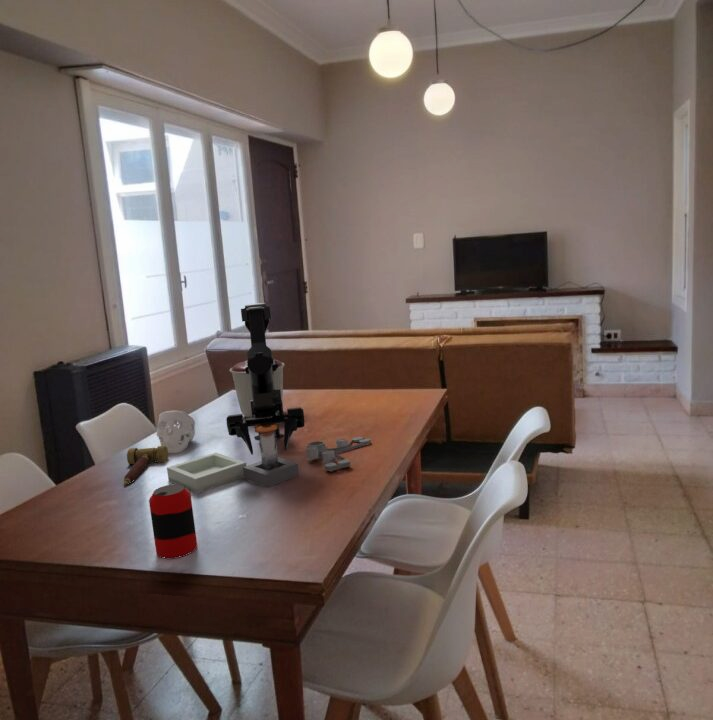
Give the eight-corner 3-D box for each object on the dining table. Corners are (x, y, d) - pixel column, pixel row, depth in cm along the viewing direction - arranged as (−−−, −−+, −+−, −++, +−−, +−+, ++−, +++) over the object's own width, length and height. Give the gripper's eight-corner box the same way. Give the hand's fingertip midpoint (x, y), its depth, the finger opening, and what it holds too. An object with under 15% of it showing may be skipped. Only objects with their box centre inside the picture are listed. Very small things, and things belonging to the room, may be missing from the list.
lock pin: (255, 478, 165) (249, 426, 163) (274, 471, 169) (268, 421, 167) (269, 483, 161) (263, 430, 159) (287, 476, 165) (282, 424, 163)
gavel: (143, 473, 167) (103, 477, 167) (146, 491, 168) (106, 494, 168) (167, 443, 187) (131, 446, 187) (169, 458, 188) (133, 461, 188)
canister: (242, 425, 216) (235, 360, 212) (229, 414, 233) (222, 353, 229) (296, 415, 223) (290, 352, 219) (280, 405, 239) (274, 346, 236)
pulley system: (288, 476, 168) (346, 474, 163) (285, 458, 167) (343, 455, 163) (324, 446, 194) (374, 443, 189) (322, 430, 193) (372, 427, 189)
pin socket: (244, 479, 166) (243, 467, 165) (276, 468, 172) (274, 456, 171) (267, 487, 159) (265, 475, 158) (299, 475, 165) (297, 463, 164)
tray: (168, 481, 169) (166, 467, 168) (217, 465, 178) (216, 452, 177) (197, 493, 158) (195, 479, 158) (247, 475, 168) (245, 462, 167)
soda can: (148, 557, 127) (139, 496, 125) (172, 539, 134) (164, 481, 132) (182, 561, 124) (173, 498, 122) (205, 543, 131) (197, 483, 129)
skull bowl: (148, 452, 189) (150, 411, 194) (164, 464, 202) (165, 425, 207) (186, 449, 189) (187, 407, 194) (199, 461, 202) (200, 422, 207)
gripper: (222, 383, 164) (225, 440, 155) (299, 375, 166) (307, 430, 157) (227, 407, 173) (230, 462, 164) (300, 399, 175) (307, 453, 166)
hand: (268, 451), depth 163 cm, fingers open, 8 cm apart
